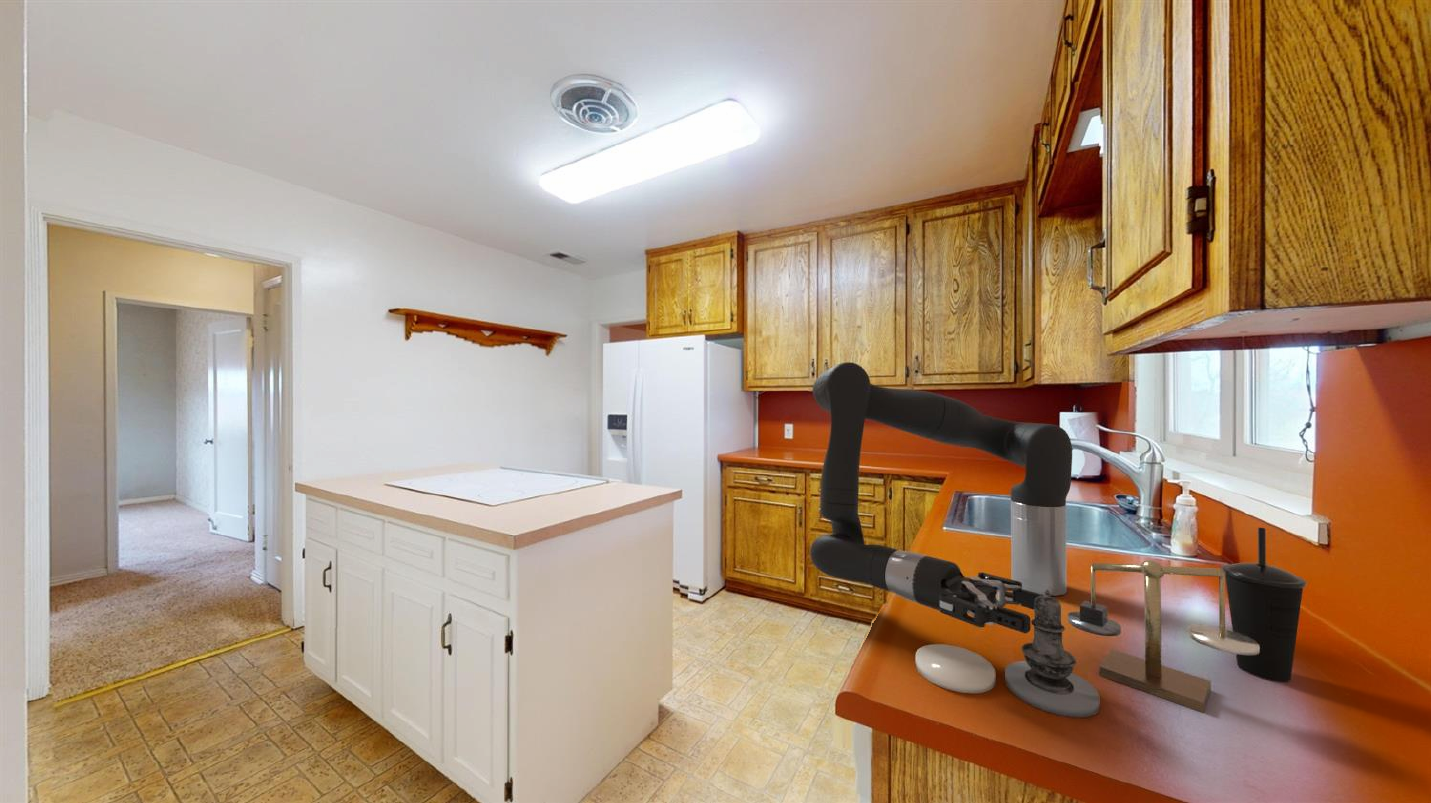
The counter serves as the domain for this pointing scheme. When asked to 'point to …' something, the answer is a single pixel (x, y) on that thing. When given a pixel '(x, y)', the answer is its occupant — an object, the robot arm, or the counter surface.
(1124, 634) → the counter surface
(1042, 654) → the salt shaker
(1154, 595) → the brass balance
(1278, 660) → the drinking cup
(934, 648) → the cream dish
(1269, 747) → the counter surface
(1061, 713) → the slate-grey dish
